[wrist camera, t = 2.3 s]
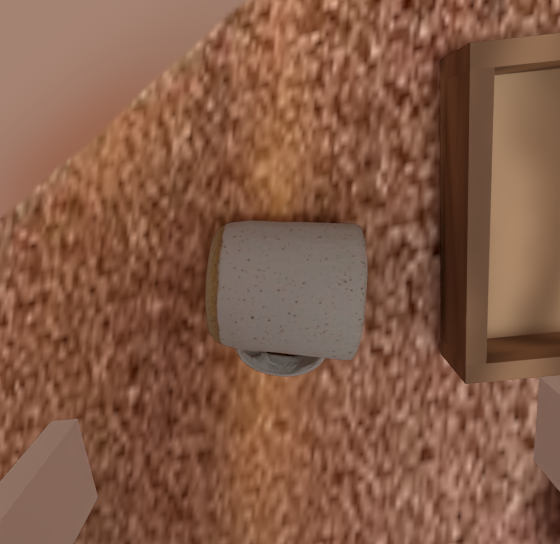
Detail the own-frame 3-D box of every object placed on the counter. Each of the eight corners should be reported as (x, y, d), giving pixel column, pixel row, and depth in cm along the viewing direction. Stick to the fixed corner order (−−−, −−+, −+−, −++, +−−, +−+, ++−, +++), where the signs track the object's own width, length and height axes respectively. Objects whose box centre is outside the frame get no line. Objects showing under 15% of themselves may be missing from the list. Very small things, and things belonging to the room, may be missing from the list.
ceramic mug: (220, 210, 27) (198, 235, 19) (351, 213, 27) (380, 239, 19) (222, 363, 30) (203, 435, 22) (340, 366, 30) (360, 438, 22)
